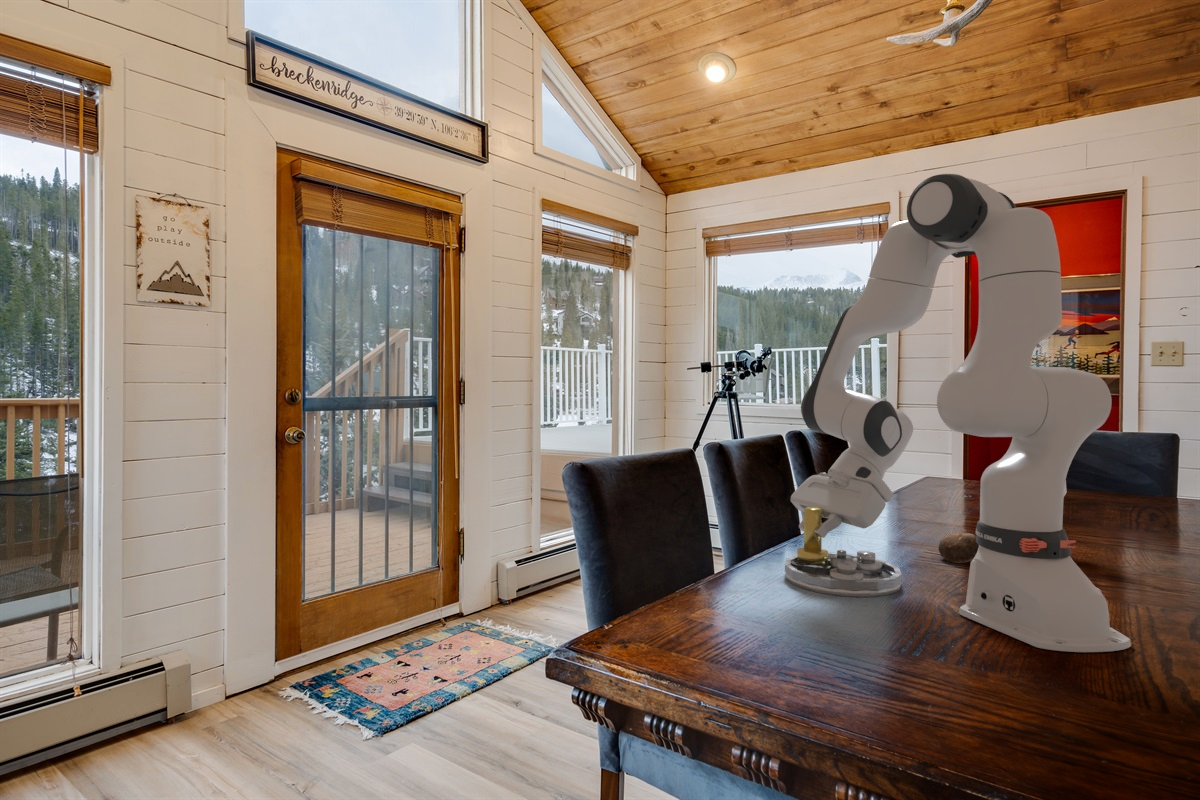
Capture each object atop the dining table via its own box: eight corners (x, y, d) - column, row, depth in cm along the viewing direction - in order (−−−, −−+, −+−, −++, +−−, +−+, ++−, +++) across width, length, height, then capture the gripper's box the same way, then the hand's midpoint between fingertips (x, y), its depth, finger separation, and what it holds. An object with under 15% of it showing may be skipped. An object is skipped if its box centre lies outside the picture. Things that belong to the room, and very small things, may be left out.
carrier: (922, 596, 117) (923, 564, 116) (808, 598, 115) (808, 566, 115) (869, 564, 137) (869, 538, 136) (771, 566, 135) (771, 539, 135)
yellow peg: (832, 564, 127) (833, 511, 126) (802, 564, 127) (803, 511, 126) (821, 556, 132) (822, 506, 132) (793, 556, 132) (793, 506, 132)
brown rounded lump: (977, 541, 143) (966, 519, 142) (994, 564, 136) (982, 542, 134) (940, 556, 146) (928, 535, 144) (955, 580, 138) (943, 558, 136)
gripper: (808, 461, 141) (768, 511, 138) (882, 474, 122) (837, 532, 119) (826, 481, 143) (786, 531, 140) (901, 497, 124) (857, 555, 121)
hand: (810, 532), depth 129 cm, fingers closed on yellow peg, 3 cm apart
